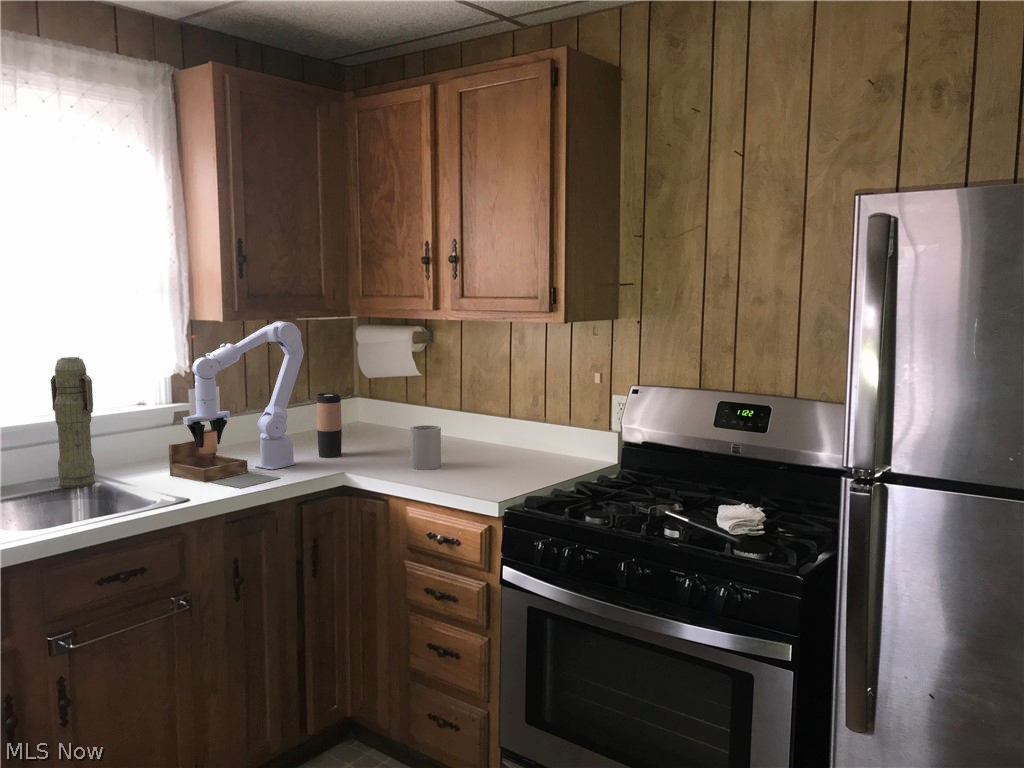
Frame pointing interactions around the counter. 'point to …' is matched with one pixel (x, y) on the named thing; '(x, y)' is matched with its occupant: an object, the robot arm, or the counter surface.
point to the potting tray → (202, 463)
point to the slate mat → (246, 480)
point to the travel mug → (329, 425)
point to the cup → (425, 447)
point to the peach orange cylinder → (209, 442)
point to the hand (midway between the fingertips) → (208, 445)
